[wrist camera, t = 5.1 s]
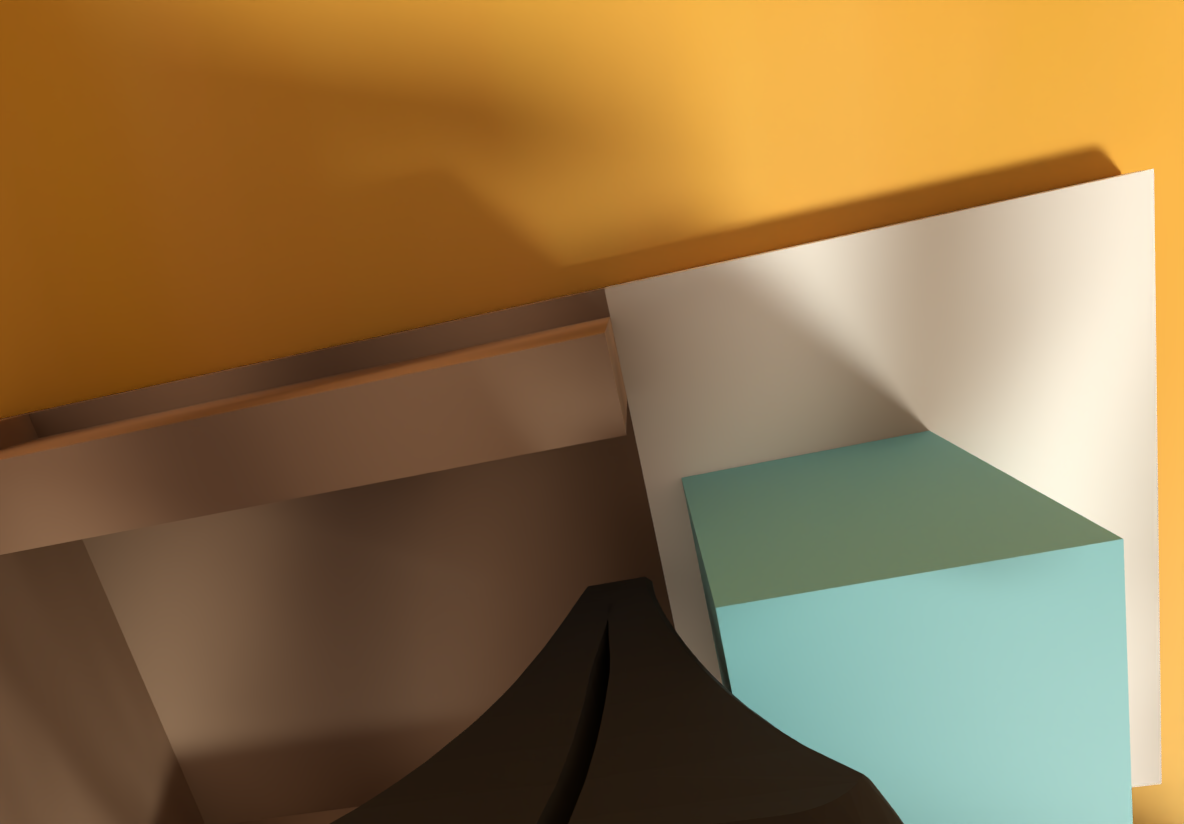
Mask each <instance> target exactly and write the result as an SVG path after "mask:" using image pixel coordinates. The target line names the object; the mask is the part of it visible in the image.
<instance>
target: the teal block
mask: <svg viewBox="0 0 1184 824" xmlns="http://www.w3.org/2000/svg"><path fill="white" fill-rule="evenodd" d="M682 483H683V488H684V493H685V498H686V504H687V509H688V514H689V519H690V524H691V529H692V534H693V539H694V544H695V549H696V554H697V559H698V564H699V569H700V574H701V579H702V584H703V589H704V594H705V599H706V604H707V609H708V614H709V619H710V624H711V629H712V634H713V639H714V644H715V649H716V654H717V659H718V664H719V669H720V674H721V679H722V684H723V686H724V687H725V688H726V689H728V690H729V691H730V692H731V693H732V694H733V695H734V696H736V697H737V698H738V699H739V700H740V701H741V702H742V703H744V704H745V705H746V706H747V707H749V708H750V709H751V710H753V711H754V712H755V713H757V714H758V715H760V716H761V717H762V718H764V719H765V720H766V721H768V722H769V723H771V724H772V725H773V726H775V727H776V728H777V729H779V730H780V731H782V732H783V733H785V734H786V735H788V736H790V737H791V738H793V739H795V740H796V741H798V742H800V743H801V744H803V745H805V746H807V747H808V748H810V749H812V750H814V751H817V752H819V753H821V754H823V755H825V756H827V757H829V758H831V759H833V760H835V761H837V762H839V763H841V764H844V765H846V766H848V767H850V768H852V769H854V770H856V771H858V772H860V773H862V774H864V775H865V776H867V777H868V778H869V779H870V780H871V781H872V782H873V784H874V785H875V786H876V787H877V789H878V790H879V791H880V792H881V794H882V795H883V796H884V798H885V799H886V800H887V801H888V803H889V804H890V805H891V807H892V808H893V809H894V811H895V812H896V813H897V815H898V816H899V817H900V819H901V820H902V822H903V823H904V824H1133V816H1132V785H1131V755H1130V724H1129V693H1128V662H1127V632H1126V601H1125V570H1124V539H1123V538H1121V537H1119V536H1117V535H1116V534H1114V533H1112V532H1110V531H1108V530H1107V529H1105V528H1103V527H1101V526H1099V525H1098V524H1096V523H1094V522H1092V521H1090V520H1089V519H1087V518H1085V517H1083V516H1082V515H1080V514H1078V513H1076V512H1074V511H1073V510H1071V509H1069V508H1067V507H1065V506H1064V505H1062V504H1060V503H1058V502H1056V501H1055V500H1053V499H1051V498H1049V497H1047V496H1046V495H1044V494H1042V493H1040V492H1039V491H1037V490H1035V489H1033V488H1031V487H1030V486H1028V485H1026V484H1024V483H1022V482H1021V481H1019V480H1017V479H1015V478H1013V477H1012V476H1010V475H1008V474H1006V473H1005V472H1003V471H1001V470H999V469H997V468H996V467H994V466H992V465H990V464H988V463H987V462H985V461H983V460H981V459H979V458H978V457H976V456H974V455H972V454H970V453H969V452H967V451H965V450H963V449H962V448H960V447H958V446H956V445H954V444H953V443H951V442H949V441H947V440H945V439H944V438H942V437H940V436H938V435H936V434H935V433H933V432H931V431H924V432H919V433H914V434H908V435H903V436H898V437H893V438H887V439H882V440H877V441H872V442H866V443H861V444H856V445H851V446H845V447H840V448H835V449H830V450H824V451H819V452H814V453H809V454H803V455H798V456H793V457H788V458H782V459H777V460H772V461H767V462H761V463H756V464H751V465H746V466H740V467H735V468H730V469H725V470H719V471H714V472H709V473H704V474H699V475H693V476H688V477H683V478H682Z"/></svg>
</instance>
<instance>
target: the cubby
mask: <svg viewBox="0 0 1184 824" xmlns="http://www.w3.org/2000/svg"><path fill="white" fill-rule="evenodd" d="M924 431H931V432H933V433H935V434H936V435H938V436H940V437H942V438H944V439H945V440H947V441H949V442H951V443H953V444H954V445H956V446H958V447H960V448H962V449H963V450H965V451H967V452H969V453H970V454H972V455H974V456H976V457H978V458H979V459H981V460H983V461H985V462H987V463H988V464H990V465H992V466H994V467H996V468H997V469H999V470H1001V471H1003V472H1005V473H1006V474H1008V475H1010V476H1012V477H1013V478H1015V479H1017V480H1019V481H1021V482H1022V483H1024V484H1026V485H1028V486H1030V487H1031V488H1033V489H1035V490H1037V491H1039V492H1040V493H1042V494H1044V495H1046V496H1047V497H1049V498H1051V499H1053V500H1055V501H1056V502H1058V503H1060V504H1062V505H1064V506H1065V507H1067V508H1069V509H1071V510H1073V511H1074V512H1076V513H1078V514H1080V515H1082V516H1083V517H1085V518H1087V519H1089V520H1090V521H1092V522H1094V523H1096V524H1098V525H1099V526H1101V527H1103V528H1105V529H1107V530H1108V531H1110V532H1112V533H1114V534H1116V535H1117V536H1119V537H1121V538H1123V539H1124V570H1125V601H1126V632H1127V662H1128V693H1129V724H1130V755H1131V785H1132V787H1139V786H1148V785H1156V784H1161V703H1160V623H1159V543H1158V463H1157V383H1156V303H1155V223H1154V169H1150V170H1144V171H1138V172H1132V173H1127V174H1122V175H1117V176H1112V177H1108V178H1103V179H1099V180H1094V181H1090V182H1085V183H1080V184H1076V185H1071V186H1067V187H1062V188H1057V189H1053V190H1048V191H1044V192H1039V193H1034V194H1030V195H1025V196H1021V197H1016V198H1012V199H1007V200H1002V201H998V202H993V203H989V204H984V205H979V206H975V207H970V208H966V209H961V210H957V211H952V212H947V213H943V214H938V215H934V216H929V217H924V218H920V219H915V220H911V221H906V222H901V223H897V224H892V225H888V226H883V227H879V228H874V229H869V230H865V231H860V232H856V233H851V234H846V235H842V236H837V237H833V238H828V239H823V240H819V241H814V242H810V243H805V244H801V245H796V246H791V247H787V248H782V249H778V250H773V251H768V252H764V253H759V254H755V255H750V256H745V257H741V258H736V259H732V260H727V261H723V262H718V263H713V264H709V265H704V266H700V267H695V268H690V269H686V270H681V271H677V272H672V273H667V274H663V275H658V276H654V277H649V278H645V279H640V280H635V281H631V282H626V283H622V284H617V285H612V286H608V287H603V288H599V289H594V290H589V291H585V292H580V293H576V294H571V295H567V296H562V297H557V298H553V299H548V300H544V301H539V302H534V303H530V304H525V305H521V306H516V307H511V308H507V309H502V310H498V311H493V312H489V313H484V314H479V315H475V316H470V317H466V318H461V319H456V320H452V321H447V322H443V323H438V324H434V325H429V326H424V327H420V328H415V329H411V330H406V331H401V332H397V333H392V334H388V335H383V336H378V337H374V338H369V339H365V340H360V341H356V342H351V343H346V344H342V345H337V346H333V347H328V348H323V349H319V350H314V351H310V352H305V353H300V354H296V355H291V356H287V357H282V358H278V359H273V360H268V361H264V362H259V363H255V364H250V365H245V366H241V367H236V368H232V369H227V370H222V371H218V372H213V373H209V374H204V375H200V376H195V377H190V378H186V379H181V380H177V381H172V382H167V383H163V384H158V385H154V386H149V387H144V388H140V389H135V390H131V391H126V392H122V393H117V394H112V395H108V396H103V397H99V398H94V399H89V400H85V401H80V402H76V403H71V404H66V405H62V406H57V407H53V408H48V409H44V410H39V411H34V412H30V413H25V414H21V415H16V416H11V417H7V418H2V419H0V824H330V823H331V822H333V821H335V820H337V819H339V818H340V817H342V816H344V815H346V814H347V813H349V812H351V811H353V810H354V809H356V808H358V807H359V806H361V805H362V804H364V803H366V802H367V801H369V800H370V799H372V798H374V797H375V796H377V795H378V794H380V793H381V792H383V791H384V790H386V789H387V788H389V787H390V786H392V785H393V784H395V783H396V782H398V781H399V780H401V779H402V778H404V777H405V776H406V775H408V774H409V773H411V772H412V771H413V770H415V769H416V768H418V767H419V766H420V765H422V764H423V763H424V762H426V761H427V760H429V759H430V758H431V757H432V756H433V755H435V754H436V753H437V752H438V751H440V750H441V749H442V748H443V747H445V746H446V745H447V744H448V743H449V742H451V741H452V740H453V739H454V738H456V737H457V736H458V735H459V734H461V733H462V732H463V731H464V730H465V729H467V728H468V727H469V726H470V725H471V724H473V723H474V722H475V721H476V720H477V719H478V718H479V717H480V716H481V715H482V714H483V713H484V712H485V711H487V710H488V709H489V708H490V707H491V706H492V705H493V704H494V703H495V702H496V701H497V700H498V699H499V698H500V697H501V696H502V695H503V694H504V693H505V692H506V691H507V690H508V689H509V688H510V687H511V686H512V684H513V683H514V682H515V681H516V680H517V679H518V678H519V677H520V675H521V674H522V673H523V672H524V671H525V669H526V668H527V667H528V666H529V665H530V663H531V662H532V661H533V660H534V659H535V657H536V656H537V655H538V654H539V653H540V652H541V650H542V649H543V648H544V647H545V645H546V644H547V642H548V641H549V640H550V638H551V637H552V636H553V634H554V633H555V632H556V630H557V629H558V628H559V626H560V625H561V623H562V622H563V621H564V619H565V618H566V616H567V615H568V613H569V612H570V611H571V609H572V608H573V606H574V605H575V603H576V602H577V600H578V599H579V598H580V596H581V595H582V594H583V592H584V591H585V589H586V588H587V587H588V586H592V585H598V584H604V583H610V582H616V581H622V580H628V579H634V578H639V577H647V578H648V579H649V580H651V581H652V582H653V586H654V591H655V596H656V598H657V600H658V602H659V604H660V606H661V608H662V610H663V612H664V613H665V615H666V617H667V618H668V620H669V621H670V623H671V624H672V626H673V627H674V629H675V630H676V632H677V633H678V635H679V636H680V637H681V639H682V640H683V641H684V643H685V644H686V645H687V647H688V648H689V649H690V650H691V651H692V653H693V654H694V655H695V656H696V657H697V659H698V660H699V661H700V662H701V663H702V664H703V665H704V667H705V668H706V669H707V670H708V671H709V672H710V673H711V674H712V675H713V676H714V677H715V678H716V679H717V680H718V681H719V682H720V683H721V684H722V679H721V674H720V669H719V664H718V659H717V654H716V649H715V644H714V639H713V634H712V629H711V624H710V619H709V614H708V609H707V604H706V599H705V594H704V589H703V584H702V579H701V574H700V569H699V564H698V559H697V554H696V549H695V544H694V539H693V534H692V529H691V524H690V519H689V514H688V509H687V504H686V498H685V493H684V488H683V483H682V478H683V477H688V476H693V475H699V474H704V473H709V472H714V471H719V470H725V469H730V468H735V467H740V466H746V465H751V464H756V463H761V462H767V461H772V460H777V459H782V458H788V457H793V456H798V455H803V454H809V453H814V452H819V451H824V450H830V449H835V448H840V447H845V446H851V445H856V444H861V443H866V442H872V441H877V440H882V439H887V438H893V437H898V436H903V435H908V434H914V433H919V432H924ZM722 685H723V684H722Z"/></svg>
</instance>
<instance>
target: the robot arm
mask: <svg viewBox="0 0 1184 824" xmlns="http://www.w3.org/2000/svg"><path fill="white" fill-rule="evenodd" d="M330 824H904V823H903V822H902V820H901V819H900V817H899V816H898V815H897V813H896V812H895V811H894V809H893V808H892V807H891V805H890V804H889V803H888V801H887V800H886V799H885V798H884V796H883V795H882V794H881V792H880V791H879V790H878V789H877V787H876V786H875V785H874V784H873V782H872V781H871V780H870V779H869V778H868V777H867V776H865V775H864V774H862V773H860V772H858V771H856V770H854V769H852V768H850V767H848V766H846V765H844V764H841V763H839V762H837V761H835V760H833V759H831V758H829V757H827V756H825V755H823V754H821V753H819V752H817V751H814V750H812V749H810V748H808V747H807V746H805V745H803V744H801V743H800V742H798V741H796V740H795V739H793V738H791V737H790V736H788V735H786V734H785V733H783V732H782V731H780V730H779V729H777V728H776V727H775V726H773V725H772V724H771V723H769V722H768V721H766V720H765V719H764V718H762V717H761V716H760V715H758V714H757V713H755V712H754V711H753V710H751V709H750V708H749V707H747V706H746V705H745V704H744V703H742V702H741V701H740V700H739V699H738V698H737V697H736V696H734V695H733V694H732V693H731V692H730V691H729V690H728V689H726V688H725V687H724V686H723V685H722V684H721V683H720V682H719V681H718V680H717V679H716V678H715V677H714V676H713V675H712V674H711V673H710V672H709V671H708V670H707V669H706V668H705V667H704V665H703V664H702V663H701V662H700V661H699V660H698V659H697V657H696V656H695V655H694V654H693V653H692V651H691V650H690V649H689V648H688V647H687V645H686V644H685V643H684V641H683V640H682V639H681V637H680V636H679V635H678V633H677V632H676V630H675V629H674V627H673V626H672V624H671V623H670V621H669V620H668V618H667V617H666V615H665V613H664V612H663V610H662V608H661V606H660V604H659V602H658V600H657V598H656V596H655V591H654V586H653V582H652V581H651V580H649V579H648V578H647V577H639V578H634V579H628V580H622V581H616V582H610V583H604V584H598V585H592V586H588V587H587V588H586V589H585V591H584V592H583V594H582V595H581V596H580V598H579V599H578V600H577V602H576V603H575V605H574V606H573V608H572V609H571V611H570V612H569V613H568V615H567V616H566V618H565V619H564V621H563V622H562V623H561V625H560V626H559V628H558V629H557V630H556V632H555V633H554V634H553V636H552V637H551V638H550V640H549V641H548V642H547V644H546V645H545V647H544V648H543V649H542V650H541V652H540V653H539V654H538V655H537V656H536V657H535V659H534V660H533V661H532V662H531V663H530V665H529V666H528V667H527V668H526V669H525V671H524V672H523V673H522V674H521V675H520V677H519V678H518V679H517V680H516V681H515V682H514V683H513V684H512V686H511V687H510V688H509V689H508V690H507V691H506V692H505V693H504V694H503V695H502V696H501V697H500V698H499V699H498V700H497V701H496V702H495V703H494V704H493V705H492V706H491V707H490V708H489V709H488V710H487V711H485V712H484V713H483V714H482V715H481V716H480V717H479V718H478V719H477V720H476V721H475V722H474V723H473V724H471V725H470V726H469V727H468V728H467V729H465V730H464V731H463V732H462V733H461V734H459V735H458V736H457V737H456V738H454V739H453V740H452V741H451V742H449V743H448V744H447V745H446V746H445V747H443V748H442V749H441V750H440V751H438V752H437V753H436V754H435V755H433V756H432V757H431V758H430V759H429V760H427V761H426V762H424V763H423V764H422V765H420V766H419V767H418V768H416V769H415V770H413V771H412V772H411V773H409V774H408V775H406V776H405V777H404V778H402V779H401V780H399V781H398V782H396V783H395V784H393V785H392V786H390V787H389V788H387V789H386V790H384V791H383V792H381V793H380V794H378V795H377V796H375V797H374V798H372V799H370V800H369V801H367V802H366V803H364V804H362V805H361V806H359V807H358V808H356V809H354V810H353V811H351V812H349V813H347V814H346V815H344V816H342V817H340V818H339V819H337V820H335V821H333V822H331V823H330Z"/></svg>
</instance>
